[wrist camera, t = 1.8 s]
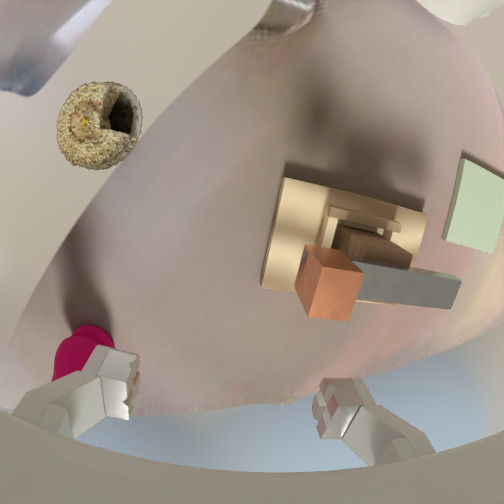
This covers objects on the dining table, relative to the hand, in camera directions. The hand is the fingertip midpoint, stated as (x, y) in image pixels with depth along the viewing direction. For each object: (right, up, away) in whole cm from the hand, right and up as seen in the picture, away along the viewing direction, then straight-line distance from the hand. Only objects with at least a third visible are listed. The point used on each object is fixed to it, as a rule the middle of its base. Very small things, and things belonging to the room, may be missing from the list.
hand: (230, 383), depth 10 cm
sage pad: (+32, +11, +24) cm, 42 cm away
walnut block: (+12, +5, +23) cm, 26 cm away
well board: (+12, +5, +25) cm, 28 cm away
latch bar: (+12, +2, +15) cm, 20 cm away
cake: (-16, +18, +19) cm, 31 cm away
